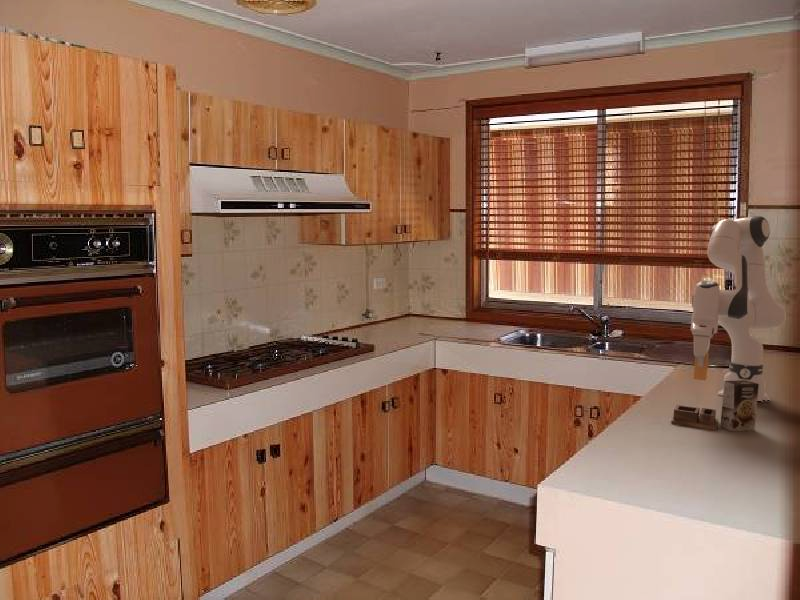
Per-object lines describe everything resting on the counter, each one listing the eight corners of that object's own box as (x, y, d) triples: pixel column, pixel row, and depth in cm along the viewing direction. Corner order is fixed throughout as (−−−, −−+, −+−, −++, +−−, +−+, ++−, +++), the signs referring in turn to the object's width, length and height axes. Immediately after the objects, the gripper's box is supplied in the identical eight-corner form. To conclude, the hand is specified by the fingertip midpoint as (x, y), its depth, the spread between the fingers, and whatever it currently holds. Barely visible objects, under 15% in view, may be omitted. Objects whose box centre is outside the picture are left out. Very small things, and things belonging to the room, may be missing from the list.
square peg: (694, 376, 259) (696, 349, 258) (706, 378, 257) (708, 351, 256) (693, 379, 256) (695, 351, 254) (705, 380, 254) (707, 353, 252)
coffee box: (733, 432, 237) (736, 384, 235) (719, 426, 243) (723, 380, 241) (755, 430, 240) (759, 383, 238) (741, 424, 246) (745, 379, 244)
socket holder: (675, 415, 256) (676, 403, 255) (717, 421, 249) (718, 409, 249) (671, 423, 245) (671, 411, 244) (715, 430, 239) (716, 417, 238)
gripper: (697, 321, 264) (694, 358, 266) (691, 330, 246) (688, 369, 248) (715, 323, 261) (712, 360, 263) (711, 332, 244) (708, 371, 246)
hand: (701, 364), depth 256 cm, fingers closed on square peg, 4 cm apart
